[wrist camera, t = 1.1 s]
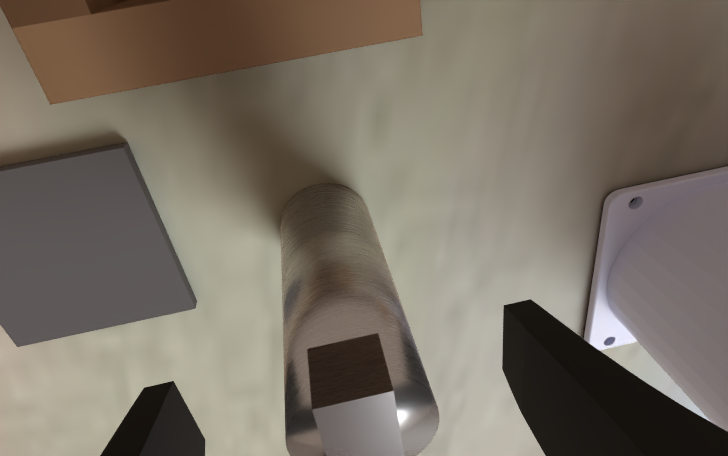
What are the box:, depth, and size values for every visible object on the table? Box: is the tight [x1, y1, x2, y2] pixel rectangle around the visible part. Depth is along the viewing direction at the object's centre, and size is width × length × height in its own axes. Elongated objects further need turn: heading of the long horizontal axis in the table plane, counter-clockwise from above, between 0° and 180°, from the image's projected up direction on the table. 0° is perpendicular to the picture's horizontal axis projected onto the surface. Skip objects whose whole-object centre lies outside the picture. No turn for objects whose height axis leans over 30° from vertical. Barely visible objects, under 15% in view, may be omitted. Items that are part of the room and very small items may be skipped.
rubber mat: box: [0, 143, 197, 347], centre depth 15 cm, size 6×6×1 cm
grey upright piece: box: [281, 184, 439, 456], centre depth 12 cm, size 3×5×9 cm, turn 8°
